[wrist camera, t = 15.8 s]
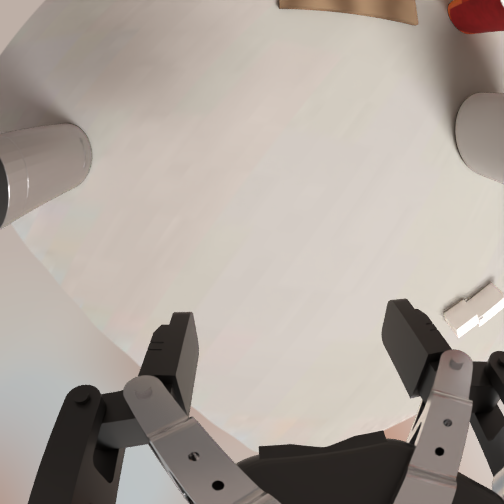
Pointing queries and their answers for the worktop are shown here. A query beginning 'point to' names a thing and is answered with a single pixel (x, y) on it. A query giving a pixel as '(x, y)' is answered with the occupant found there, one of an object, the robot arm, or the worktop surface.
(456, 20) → the paper cup
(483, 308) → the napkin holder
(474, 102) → the cylinder vase
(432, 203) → the worktop surface
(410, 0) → the board
